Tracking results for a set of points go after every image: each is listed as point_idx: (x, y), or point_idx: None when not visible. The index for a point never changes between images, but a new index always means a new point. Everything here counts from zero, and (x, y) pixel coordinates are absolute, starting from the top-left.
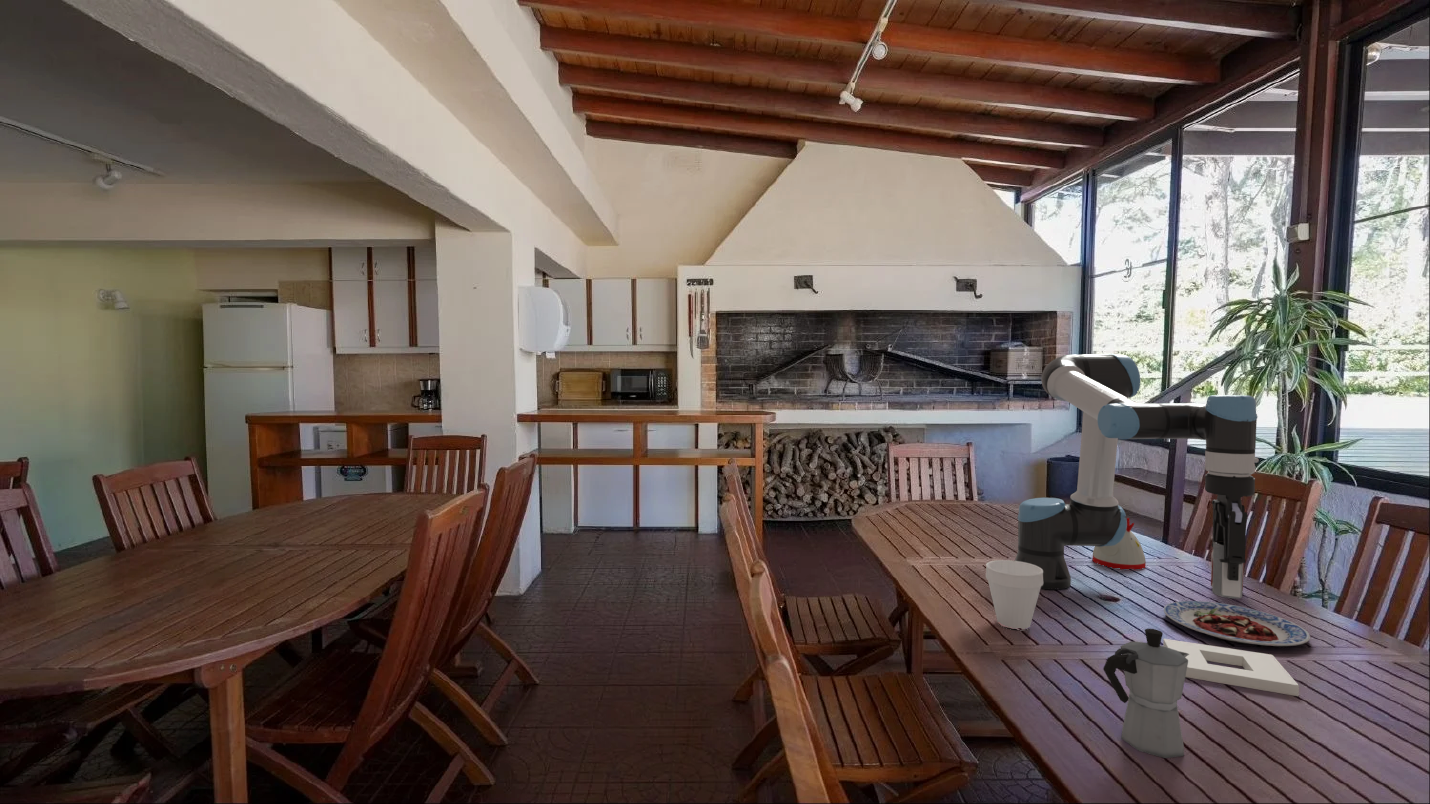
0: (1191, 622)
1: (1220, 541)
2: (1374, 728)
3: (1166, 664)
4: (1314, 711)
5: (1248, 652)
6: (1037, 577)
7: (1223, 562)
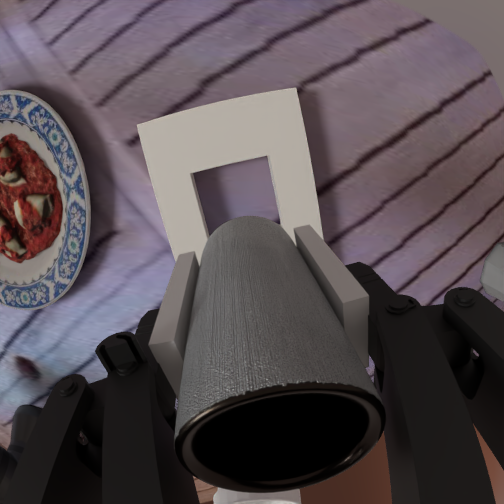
0: (27, 264)
1: (219, 476)
2: (351, 19)
3: None
4: (343, 79)
5: (154, 164)
6: (277, 495)
7: (367, 364)
